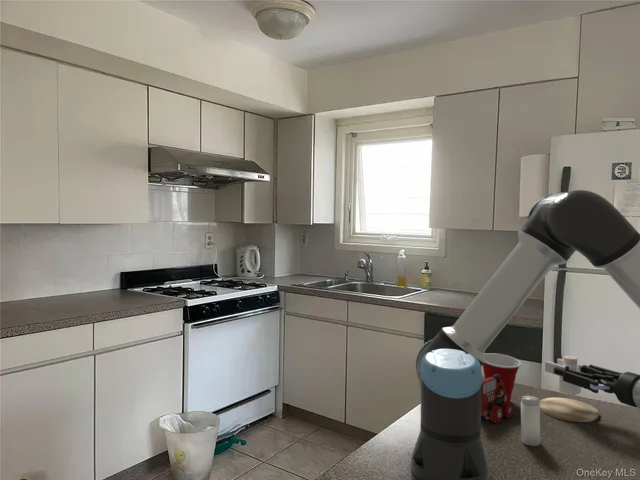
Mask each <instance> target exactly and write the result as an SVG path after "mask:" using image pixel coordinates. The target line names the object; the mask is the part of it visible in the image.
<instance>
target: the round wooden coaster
mask: <svg viewBox="0 0 640 480" xmlns="http://www.w3.org/2000/svg"><path fill="white" fill-rule="evenodd" d="M539 403H540V412H542V413H544V414H545V415H547V416H550V417H552V418H554V419H558V420H562V421H565V422H573V423H591V422H594V421H597V420H598V419H599V416H600V415H599V413H600V411H599V410H598V409H597V408H596V407H594V405H591V404H589V403H586V402H584V401H580V400H577V399H571V398H566V397H546V398H542V399H540V400H539Z"/></svg>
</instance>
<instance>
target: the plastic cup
mask: <svg viewBox="0 0 640 480" xmlns="http://www.w3.org/2000/svg"><path fill="white" fill-rule="evenodd" d="M485 360H486V361H485V363H484V364H483V365H482V369H483V374H484V379H486V378H489V377H493V375H494V374H498V375H500V377H501V380H502V381H503V382H504V385H505V389H506V392H507V401H509V402H511V399H512V394H513V390H514V385H515V383H516V382H515V381H516V378H517V377H516V376H517V373H518V370H519V368H520V367H521V366H522V362H521V360H519V359H517V358H516V357H513V356H511V355H506V354H502V353H491V352H490V353H489V352H487V353H485Z"/></svg>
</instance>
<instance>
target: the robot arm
mask: <svg viewBox="0 0 640 480" xmlns="http://www.w3.org/2000/svg"><path fill="white" fill-rule="evenodd" d="M517 236H518V243H517V244H516V246H515V247H514V248H513V249H512V250H511V252H510V253H509V254H508V255H507V256H506V258H505V259H504V261H503V262H502V263H501V265H500V266H499V267H498V268H497V269H496V270H495V272H494V273H493V275H492V276H491V277H490V278H489V280H488V281H487V282H486V283H485V285H484V286H483V287H482V288H481V290H480V291H479V292H478V293H477V295H476V296H475V297H474V299H473V300H472V301H471V302H470V304H469V305H468V306H467V307H466V309H465V310H464V311H463V313H462V314H461V315H460V317H459V318H458V319H457V320H456V321H455V322H454V324H453V325H452V326H445V327H442V328H441V329H440V330H439V331H438V333H437V334H436V336H434V338H432V339H430V340H429V341H427V342H425V343H424V344H423V345H422V346H421V348H420V349H419V350H418V353H417V355H416V359H415V371H416V375H417V378H418V384H419V390H420V431H419V433H418V437H417V439H416V442H415V445H414V449H413V451H412V454H411V459H410V460H411V461H410V465H411V466H410V470H411V472H412V474H413V476H415V478H416V479H417V480H490V471H491V470H490V464H489V461H488V457H487V455H486V450H485V448H484V444H483V441H482V437H481V436H482V434H481V433H482V432H481V428H482V425H481V424H482V416H481V385H482V380H484V379H483V372H482V367H483V364H484V363H485V361H486V360H485V354H486V353H485V352H486V350H487V348H488V347H490V345H491V344H492V342H493V341H494V340H495V338H496V337H497V336H498V335H499V334H500V332H501V331H502V330H503V329H504V328H505V326H507V324H508V323H509V321H510V320H511V319H512V318H513V316H514V315H515V314H516V313H517V311H518V310H519V309H520V308H521V306H523V305H524V303H525V302H526V300H527V299H528V298H529V297H530V296H531V294H532V293H533V292H534V291H535V289H536V288H537V287H538V286H539V284H540V283H541V282H542V280H544V278H545V277H546V276H547V275H548V274H549V272H550V271H551V270H552V268H553V267H555V266H559V265H564V264H566V263H567V261H568V260H570V259H571V257H572V256H573V255H574V254H575V252H576V251H577V252H578V253H579V254H580V255H582V256H583V257H585V259H586V260H587V261H588V262H589V263H591V265H592V266H593V267H594V268H598V269H604V271H605V272H606V273H607V274H608V275H609V276H610V278H611V279H613V281H614V282H615V283H616V284H617V285H618V286H619V288H620V289H621V290H622V291H623V292H624V293H625V294H626V295H627V296H628V298H629V299H630V300H631V301H632V302H633V303H634V304H635V305H636V307H637V308H638V309H639V310H640V233H639V232H638V231H637V229H636V228H635V227H634V226H633V225H632V224H631V222H630V221H629V220H628V219H627V218H626V217H625V216H624V215H623V214H622V212H620V210H618V209H617V208H616V207H615V206H614V205H613V204H612V203H611V202H610V201H609V200H608V199H606V198H605V197H603V196H602V195H600V194H599V193H596V192H593V191H590V190H583V189H575V190H571V191H565V192H561V191H560V192H554V193H550V194H548V195H545V196H543V197H542V198H540V199H539V200H537V201H536V202H535V203H534V204H533V205H532V207H531V208H530V210H529V212H528V216H527V220H526V221H525V222H524V224H523V225H522V227H521V228H519V230H518V231H517ZM544 363H545V364H544V372H546V373H549V374H552V375H556V376H561V377H563V381H565V382H568V383H571V384H573V385H576V386H579V387H581V389H586V390H588V391H590V392H592V393H594V394H598V393H599V390H600V391H604V393H607V394H614V395H615V396H616V398H617V400H618V401H619V402H620V403H621V404H624V405H626V406H630V407H633V408H635V409H637V408H638V409H640V374H638V373H636V372H635V373H634V372H630V371H625V372H619V371H616V370H612V369H608V368H605V367H601V366H597V365H593V364H589V365H585V364H583V365H581V364H578V363H577V369H578V370H580V371H581V372H579V371H574V370H570V369H569V366H564V359H562V358H557V360H556V363H555V362H552V361H548V360H545V361H544Z"/></svg>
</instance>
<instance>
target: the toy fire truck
mask: <svg viewBox="0 0 640 480" xmlns="http://www.w3.org/2000/svg"><path fill="white" fill-rule="evenodd" d="M513 414H514V404H513V402H511V401H510V402H509V401H507V392H506V389H505V385H504V382H503V381H502V380H501V377H500V375H498V374H494V375H493V377H489V378H486V379H485V378H484V379H482V385H481V417H489V419H490V421H491V422H492V423H494V424H499V423H501V422H502V419H503V417H504V418H507V419H511V417H512V415H513Z"/></svg>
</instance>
